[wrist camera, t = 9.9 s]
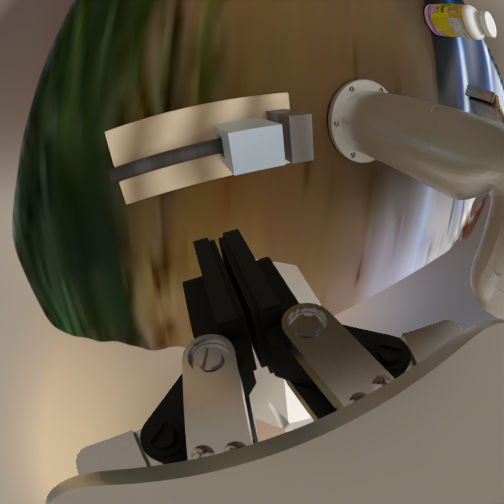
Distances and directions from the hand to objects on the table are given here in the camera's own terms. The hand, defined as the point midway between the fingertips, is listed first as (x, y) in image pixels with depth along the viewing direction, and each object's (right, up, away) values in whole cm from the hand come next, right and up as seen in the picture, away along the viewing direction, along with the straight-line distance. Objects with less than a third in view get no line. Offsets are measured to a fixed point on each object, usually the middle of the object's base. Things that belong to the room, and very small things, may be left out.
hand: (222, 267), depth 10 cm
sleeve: (0, +13, +18) cm, 22 cm away
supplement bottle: (+33, +42, +15) cm, 55 cm away
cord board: (-4, +13, +19) cm, 23 cm away
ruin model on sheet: (+51, +34, +27) cm, 67 cm away
